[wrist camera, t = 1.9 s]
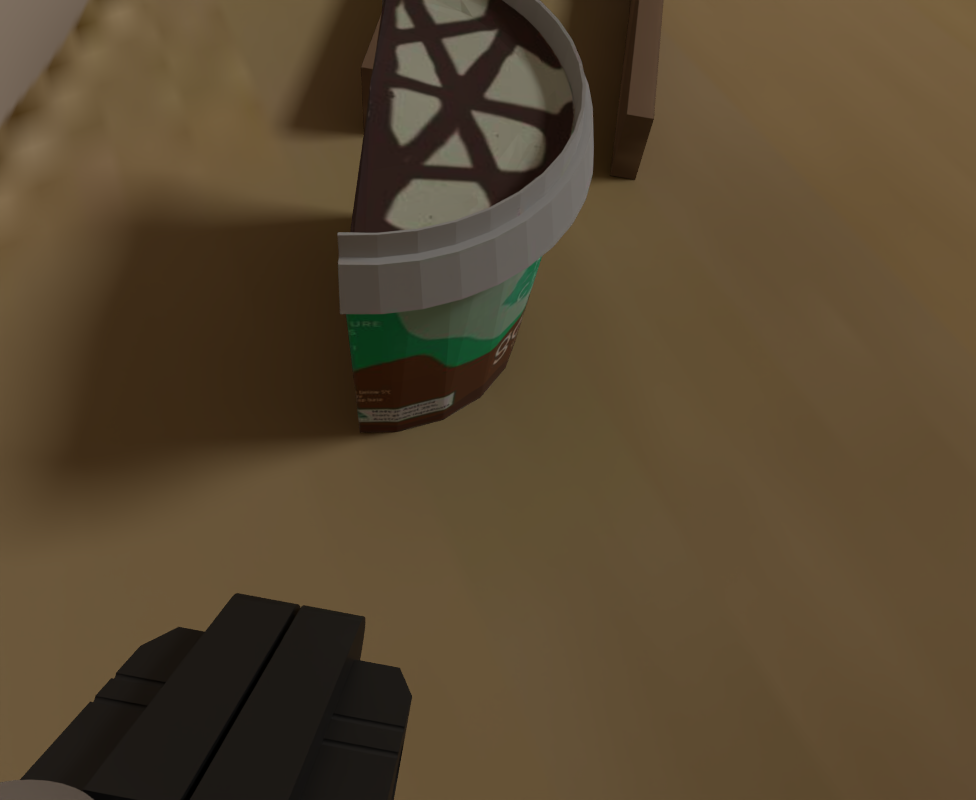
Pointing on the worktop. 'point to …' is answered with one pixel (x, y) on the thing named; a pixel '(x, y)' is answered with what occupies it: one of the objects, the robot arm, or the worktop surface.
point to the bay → (633, 92)
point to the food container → (457, 198)
